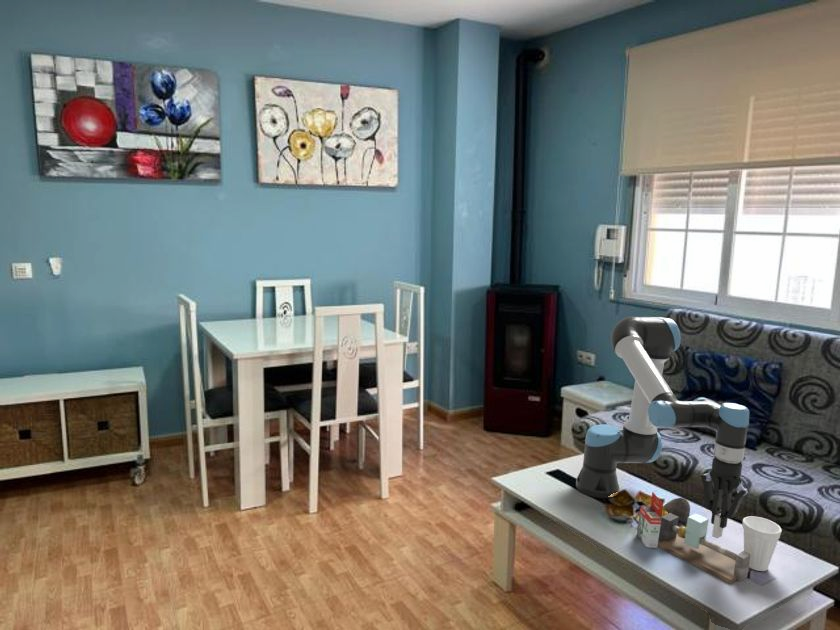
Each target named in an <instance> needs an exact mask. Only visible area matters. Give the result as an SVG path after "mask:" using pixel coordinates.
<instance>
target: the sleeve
mask: <svg viewBox="0 0 840 630" xmlns="http://www.w3.org/2000/svg"><path fill="white" fill-rule="evenodd" d="M709 520H710V519H709V518H707V517H705V516H702V515H700V514H698V513H696V512H695V513H694V514H691V515H689V517H688V520H687V525H686V526H685V527H686V534H685V541H684V543H686V544H688V545H690V546H692V547H694V548H696V549H698V548H699V544H700V543H699V541H700V538H704V539H706V540H707V531H708V526H709ZM701 545H702V544H701ZM703 546H704V545H703Z"/></svg>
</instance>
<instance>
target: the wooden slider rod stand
mask: <svg viewBox="0 0 840 630" xmlns="http://www.w3.org/2000/svg"><path fill="white" fill-rule="evenodd" d="M678 520H679V517H678V516H676V515H674V514H671V513H668V514H666V515H664V516H662V517H661V525H660V532H659V539H658V546H657V548H660V549H662V550H664V551H665V552H668V553H670V554H671V555H673V556H675V557H677V558H679V559H681V560H683V561H686V562H687V563H689V564H691V565H692V566H695V567H697V568H699V569H701V570H703V571H705V572H707V573H708V574H710V575H712V576H714V577H716V578H718V579H720V580H722V581H724V582H726V583H728V584H733V582H735V581H738V582H742V581H743V580H745V579H746V578H747V577H748V573H750V569H751V568H750V567H749V562H750V556H751V554H749V553H747V552H745V551H744V550H743V551H742V550H741V552H739V553H736V552H733V551H731V550H728V549H727V548H724V547H722V546H720V545H718V544H716V543H714V542H712V541H710V540H708V539H707V538H706V539H704V538H700V541H699V543H700V544H699V548H698V549H696V548H694V547H692V546H690V545H688V544H686V543H684V541H685V534H686V527H687V526H684V525H680V526H678V525H679V521H678ZM701 544H702V545H701ZM703 545H704V546H703Z"/></svg>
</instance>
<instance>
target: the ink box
mask: <svg viewBox="0 0 840 630" xmlns="http://www.w3.org/2000/svg"><path fill="white" fill-rule="evenodd" d="M663 506H664V503H663V502H662V500H660V498H659V497H658V496H657V495H656V493H654V491H652V492H651V501H650V505H640V508H639V514H638V515H639V516H638V521H637V522H638V525H637V531H636V535H637V536H638V538H639V539H640V541H641V542H642V543H643V545H644V547H645V548H650V549H651V548H652V549H658V544H659V541H658V539H659V532H660V525H661V517H662V510H663Z"/></svg>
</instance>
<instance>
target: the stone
mask: <svg viewBox="0 0 840 630" xmlns="http://www.w3.org/2000/svg"><path fill="white" fill-rule="evenodd" d="M663 506H664V508H665V510H666V511H667V512H668V513H671V514H674V515H676V516H678V517H679V520H678V522H681V523H683V524H684V525H686V526H687V520H688V517H689V516H691V515H690V514H691V505H690V503H689V501H688V500H687V499H686V498H683V497H678V498H673V499H671V500H670V501H668V502H666V503H665V504H663Z"/></svg>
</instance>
